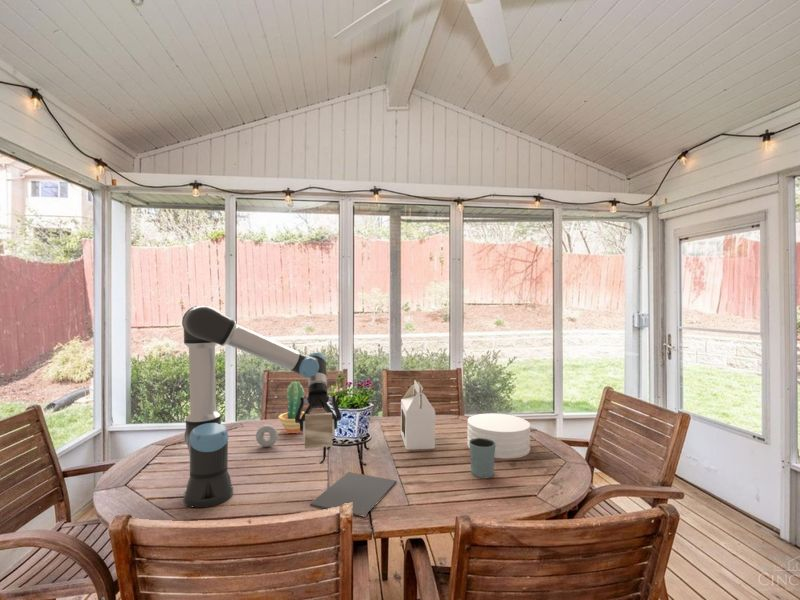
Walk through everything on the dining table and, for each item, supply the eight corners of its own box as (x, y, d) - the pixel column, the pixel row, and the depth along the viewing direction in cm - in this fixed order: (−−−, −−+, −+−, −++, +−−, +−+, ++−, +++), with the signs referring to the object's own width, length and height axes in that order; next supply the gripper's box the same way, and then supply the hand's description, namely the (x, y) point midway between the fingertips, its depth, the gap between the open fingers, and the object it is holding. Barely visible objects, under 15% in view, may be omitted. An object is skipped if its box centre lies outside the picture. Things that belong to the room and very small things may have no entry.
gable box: (435, 449, 181) (435, 387, 181) (406, 450, 179) (406, 387, 179) (426, 433, 203) (426, 377, 203) (400, 433, 202) (401, 378, 202)
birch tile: (304, 445, 152) (305, 414, 152) (331, 443, 154) (331, 412, 154) (304, 448, 149) (305, 416, 149) (332, 446, 151) (332, 414, 151)
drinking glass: (476, 480, 150) (476, 447, 150) (464, 468, 160) (464, 438, 160) (500, 476, 153) (500, 445, 153) (487, 466, 162) (487, 436, 162)
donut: (279, 445, 184) (279, 423, 184) (276, 448, 181) (276, 426, 181) (257, 445, 184) (257, 423, 184) (254, 448, 181) (254, 426, 181)
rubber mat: (365, 517, 123) (365, 515, 123) (309, 505, 131) (309, 503, 131) (396, 482, 148) (396, 480, 148) (348, 473, 155) (348, 471, 155)
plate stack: (456, 440, 193) (456, 416, 193) (505, 433, 202) (505, 411, 202) (489, 462, 166) (489, 435, 166) (543, 453, 176) (543, 427, 176)
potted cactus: (314, 427, 210) (315, 380, 210) (299, 437, 195) (300, 386, 195) (288, 425, 214) (289, 378, 214) (272, 434, 199) (272, 384, 199)
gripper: (344, 390, 169) (348, 440, 154) (289, 393, 164) (287, 445, 149) (346, 380, 164) (350, 431, 149) (288, 382, 159) (287, 435, 144)
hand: (318, 438), depth 149 cm, fingers closed on birch tile, 10 cm apart
